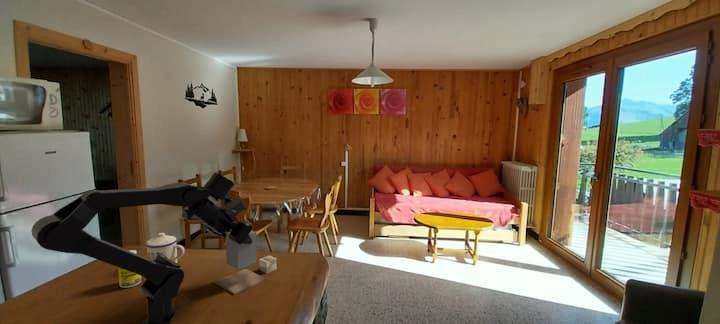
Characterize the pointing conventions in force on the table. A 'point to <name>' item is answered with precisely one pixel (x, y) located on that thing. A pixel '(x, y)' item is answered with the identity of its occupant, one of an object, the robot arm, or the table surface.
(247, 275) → the light tan board
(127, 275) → the supplement bottle
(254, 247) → the sharp-edged grey box
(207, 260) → the table surface
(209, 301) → the table surface
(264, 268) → the letter cube
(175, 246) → the teacup with lid
